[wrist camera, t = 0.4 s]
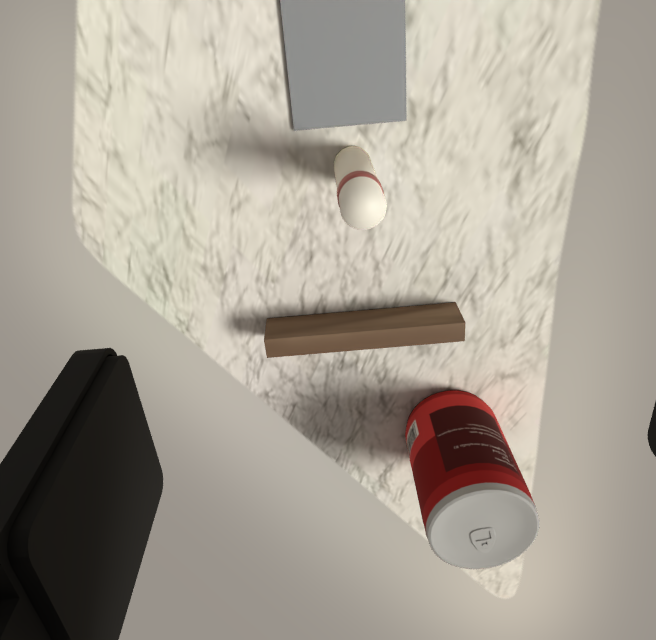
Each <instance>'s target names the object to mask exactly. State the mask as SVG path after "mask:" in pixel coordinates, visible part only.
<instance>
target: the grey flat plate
mask: <svg viewBox="0 0 656 640" xmlns="http://www.w3.org/2000/svg"><path fill="white" fill-rule="evenodd" d="M280 5H281V14H282V24H283V33H284V42H285V52H286V61H287V70H288V80H289V89H290V98H291V107H292V117H293V126H294V131H296V130H307V129H318V128H329V127H340V126H352V125H363V124H374V123H385V122H396V121H406V38H405V0H280Z"/></svg>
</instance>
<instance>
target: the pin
mask: <svg viewBox="0 0 656 640" xmlns="http://www.w3.org/2000/svg"><path fill="white" fill-rule="evenodd" d="M334 172H335V178H336V185H337V198H338V204H339V207H340V212H341V216H342V218H343V220H344V221H345V222H346V223H347V224H348V225H349V226H351V227H353V228H355V229H360V230H365V229H370V228H372V227H374V226H376V225H377V224H379V223H380V222H381V221H382V219H383V218H384V216H385V213H386V209H387V204H386V199H385V197H384V192H383V189H382V186H381V184H380V182H379V180H378V178H377V176H376V173H375V170H374V168H373V165H372V163H371V160H370V157H369V155H368V154H367V152H366V151H365V150H363V149H362V148H360V147H357V146H349V147H346V148H344V149H342V150H341V151H340V152H339V153H338V154H337V156H336V157H335V160H334Z"/></svg>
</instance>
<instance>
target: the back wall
mask: <svg viewBox="0 0 656 640" xmlns="http://www.w3.org/2000/svg"><path fill="white" fill-rule="evenodd" d="M459 341H465V321H464V319H463V317H462V315H461V313H460V310H459V308H458V306H457V304H456V302H454V303H443V304H431V305H419V306H407V307H396V308H384V309H372V310H361V311H349V312H337V313H326V314H314V315H302V316H291V317H279V318H267V321H266V329H265V337H264V342H265V349H266V355H267V358H270V357H282V356H294V355H305V354H317V353H329V352H341V351H353V350H364V349H376V348H388V347H400V346H412V345H424V344H435V343H447V342H459Z"/></svg>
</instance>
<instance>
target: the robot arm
mask: <svg viewBox="0 0 656 640" xmlns="http://www.w3.org/2000/svg"><path fill="white" fill-rule="evenodd" d="M648 442H649V446H650V448H651V450H652V452H653V454H654V455H655V456H656V402H655V407H654V410H653V414H652V418H651V421H650V425H649V429H648ZM162 489H163V473H162V469H161V466H160V463H159V459H158V456H157V453H156V449H155V446H154V443H153V440H152V436H151V434H150V430H149V427H148V424H147V420H146V417H145V414H144V411H143V407H142V404H141V401H140V398H139V394H138V391H137V388H136V385H135V381H134V378H133V375H132V371H131V368H130V365H129V362H128V360H127V358H126V357H125V356H123V355H121V356H117V354H116V352H115V351H114V350H113V349H111V348H105V349H92V350H80V351H76V352H75V353H74V354H73V355H72V356H71V358H70V359H69V361H68V362H67V364H66V365H65V367H64V369H63V370H62V371H61V373H60V374H59V376H58V377H57V379H56V380H55V382H54V383H53V385H52V387H51V388H50V390H49V391H48V393H47V394H46V396H45V397H44V399H43V400H42V402H41V403H40V405H39V406H38V408H37V409H36V411H35V412H34V414H33V415H32V417H31V418H30V420H29V422H28V423H27V424H26V426H25V428H24V429H23V430H22V432H21V434H20V435H19V437H18V438H17V440H16V441H15V443H14V444H13V446H12V447H11V449H10V450H9V452H8V453H7V455H6V457H5V458H4V459H3V461H2V462H1V464H0V640H118V639H119V635H120V633H121V629H122V626H123V622H124V619H125V615H126V612H127V609H128V605H129V602H130V599H131V595H132V592H133V588H134V585H135V582H136V578H137V575H138V572H139V568H140V565H141V562H142V558H143V555H144V551H145V548H146V545H147V541H148V538H149V534H150V531H151V527H152V524H153V521H154V518H155V514H156V511H157V507H158V504H159V500H160V497H161V494H162Z"/></svg>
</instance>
